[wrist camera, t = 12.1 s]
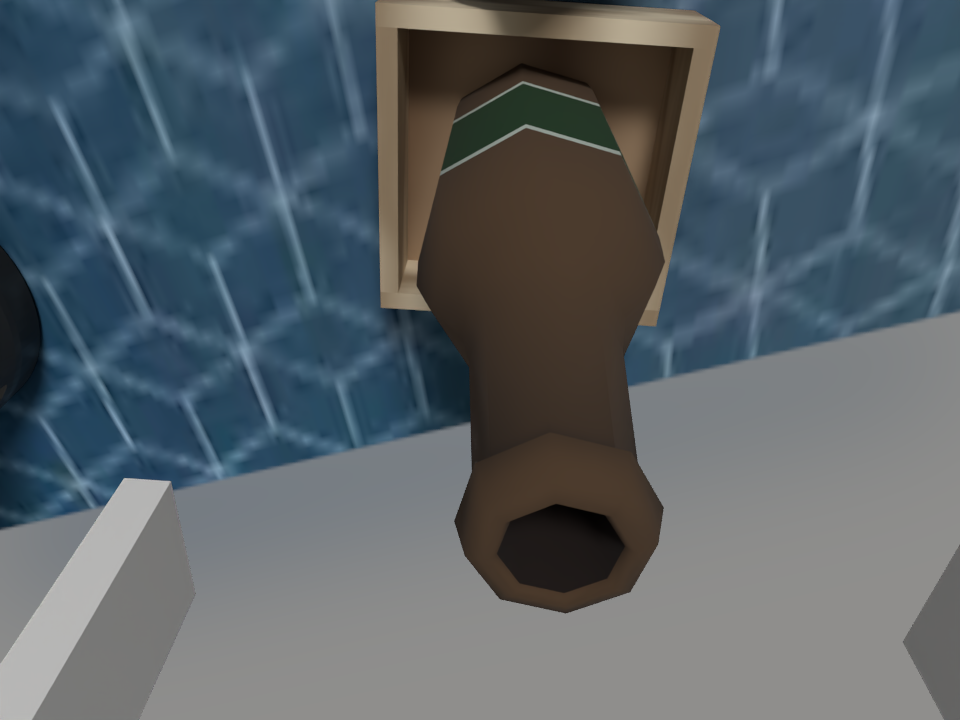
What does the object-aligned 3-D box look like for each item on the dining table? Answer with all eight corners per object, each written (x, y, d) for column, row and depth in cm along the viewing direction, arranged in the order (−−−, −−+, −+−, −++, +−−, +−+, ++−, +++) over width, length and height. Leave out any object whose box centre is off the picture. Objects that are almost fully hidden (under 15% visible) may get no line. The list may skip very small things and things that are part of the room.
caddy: (393, 266, 37) (380, 307, 33) (392, -10, 30) (375, 2, 26) (641, 283, 37) (655, 326, 33) (694, 10, 30) (720, 25, 26)
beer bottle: (618, 222, 34) (774, 685, 14) (455, 239, 35) (382, 702, 15) (614, 46, 30) (825, 344, 10) (430, 70, 31) (280, 391, 11)
